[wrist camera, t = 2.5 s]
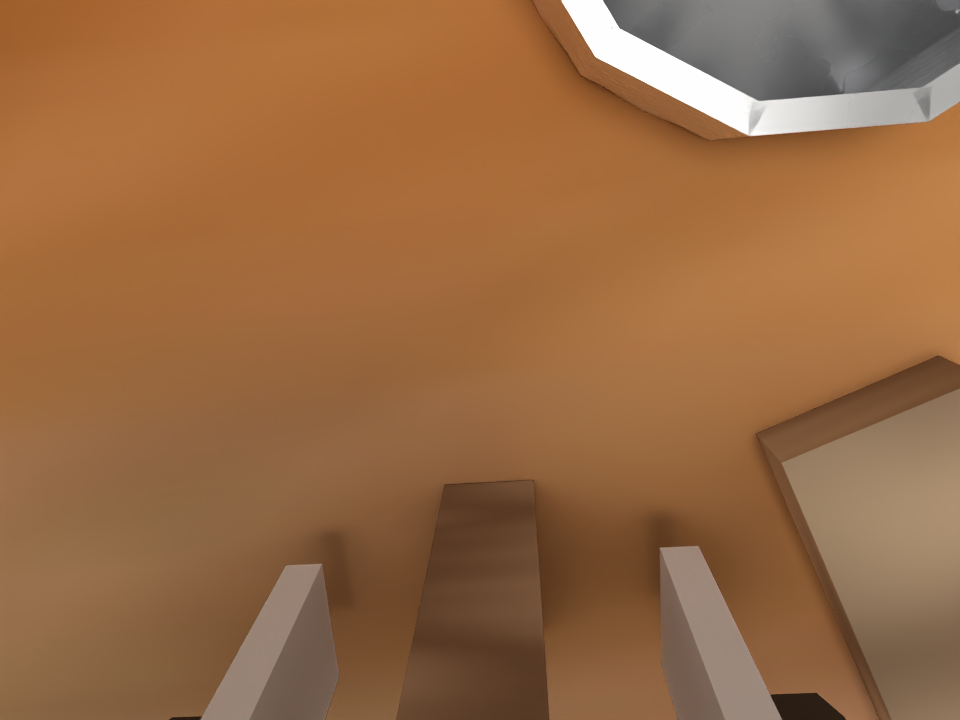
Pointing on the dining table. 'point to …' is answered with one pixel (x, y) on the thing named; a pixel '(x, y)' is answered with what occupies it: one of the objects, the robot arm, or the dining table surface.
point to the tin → (767, 60)
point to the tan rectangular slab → (885, 529)
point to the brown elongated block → (480, 611)
